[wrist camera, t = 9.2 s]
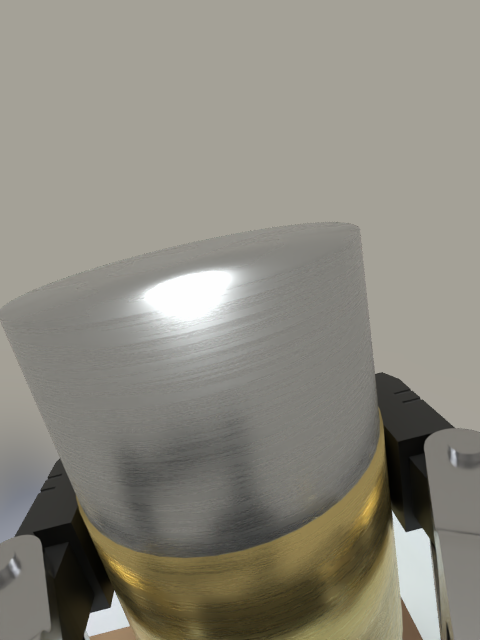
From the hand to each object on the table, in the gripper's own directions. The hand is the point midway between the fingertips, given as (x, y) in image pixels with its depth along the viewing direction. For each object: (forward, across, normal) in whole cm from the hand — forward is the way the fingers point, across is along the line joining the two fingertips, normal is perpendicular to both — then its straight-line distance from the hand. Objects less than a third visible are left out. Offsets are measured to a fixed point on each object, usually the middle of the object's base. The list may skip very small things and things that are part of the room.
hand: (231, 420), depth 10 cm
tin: (-2, 0, +7) cm, 7 cm away
